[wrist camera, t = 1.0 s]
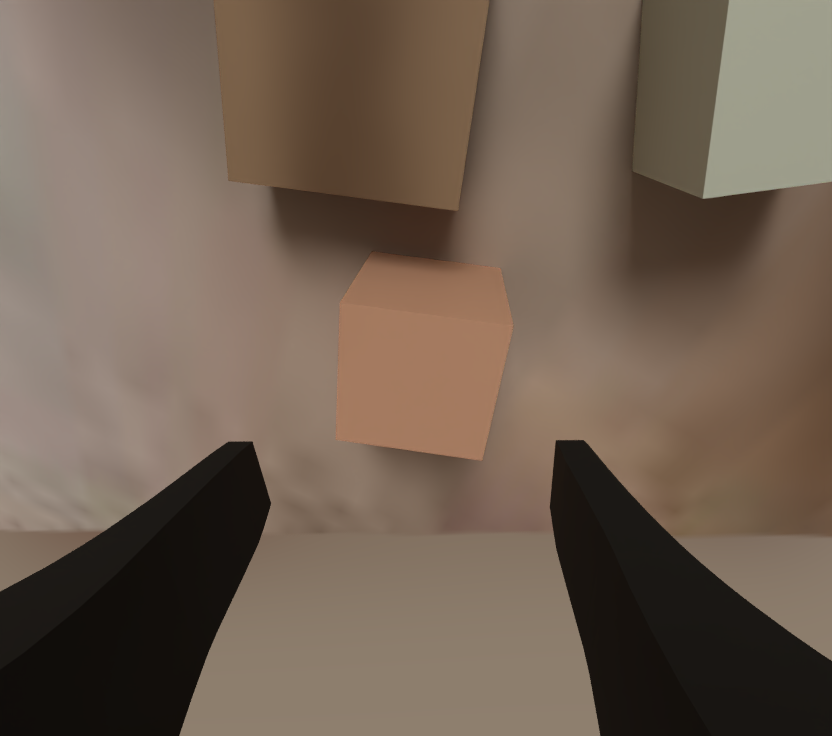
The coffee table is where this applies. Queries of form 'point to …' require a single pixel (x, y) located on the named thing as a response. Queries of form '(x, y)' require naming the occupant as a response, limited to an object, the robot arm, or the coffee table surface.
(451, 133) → the walnut base
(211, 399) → the coffee table surface
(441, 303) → the terracotta cube
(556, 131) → the coffee table surface
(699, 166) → the sage cube
